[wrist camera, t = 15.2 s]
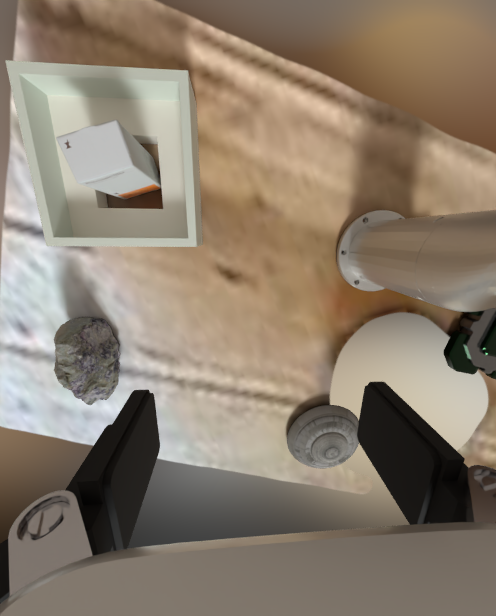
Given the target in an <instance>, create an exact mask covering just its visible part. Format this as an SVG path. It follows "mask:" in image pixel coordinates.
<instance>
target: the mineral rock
mask: <svg viewBox="0 0 496 616" xmlns="http://www.w3.org/2000/svg"><path fill="white" fill-rule="evenodd" d="M54 341H55V342H54V343H55V347H56V349H55V355H56V362H55V369H54V371H55V374H56V376H57V379H58V381H59V382H60V383H61V384H62V385H63V387H64V388H67V389H69V390H72V392H73V394H74V396H75V397H76V398H78V399H82V401H84V402H85V403H86V404H88V405H92V404H93V403H94V402H96V401H97V400H99V399H101V400H103V399H105V400H107V399H108V398H109V397H110V396H111V394H112V393H113V392H114V389H115V388H116V386H117V384H118V376H119V375H118V373H119V372H120V371H119V366H120V363H119V360H118V359H119V356H120V352H119V351H118V345H119V344H118V342H117V340H116V339H115V338H114V336H113V333H112V330H111V328H110V326H109V325H108V324H107V322H106V320H104V319H94V318H90V317H82V318H76V319H72V320H69V321H67V322H66V323H65V324H63V325H61V326H60V328H59V329H58V331H57V332H56V335H55V338H54Z"/></svg>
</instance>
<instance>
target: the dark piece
mask: <svg viewBox="0 0 496 616" xmlns="http://www.w3.org/2000/svg"><path fill="white" fill-rule="evenodd" d="M466 313H469V316H468V317H466V318H462V320H461V322H460V324H459V325H460V326H461V327H462V330H461V331H460V332H459V331H454V332H453V333H452V335H451V337H450V339H449V341H448V343H447V345H446V347H445V349H444V356H445V358H446V361H447V363H448V366H449V367H451V368H452V369H454V370H455V371H458V372H464V373H469V374H475V373H476V372H477V370H478V369H479V370H481V371H482V372H484V373H486V375H487V376H489V377H491V378H493V379H496V308H492V309H488V310H483V311H477V312H466Z"/></svg>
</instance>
